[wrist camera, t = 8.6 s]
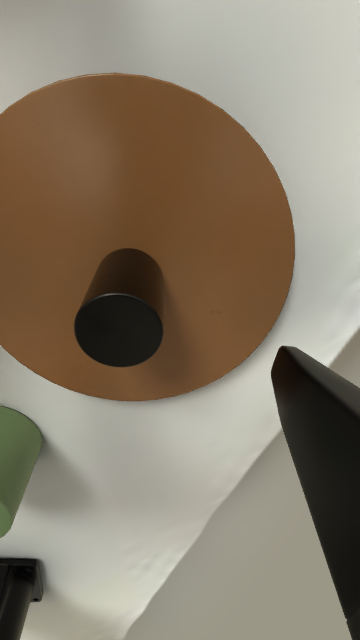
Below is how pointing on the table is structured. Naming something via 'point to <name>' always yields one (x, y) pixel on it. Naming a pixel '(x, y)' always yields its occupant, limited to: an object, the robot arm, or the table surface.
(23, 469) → the candle
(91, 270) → the wooden lid
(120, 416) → the table surface
